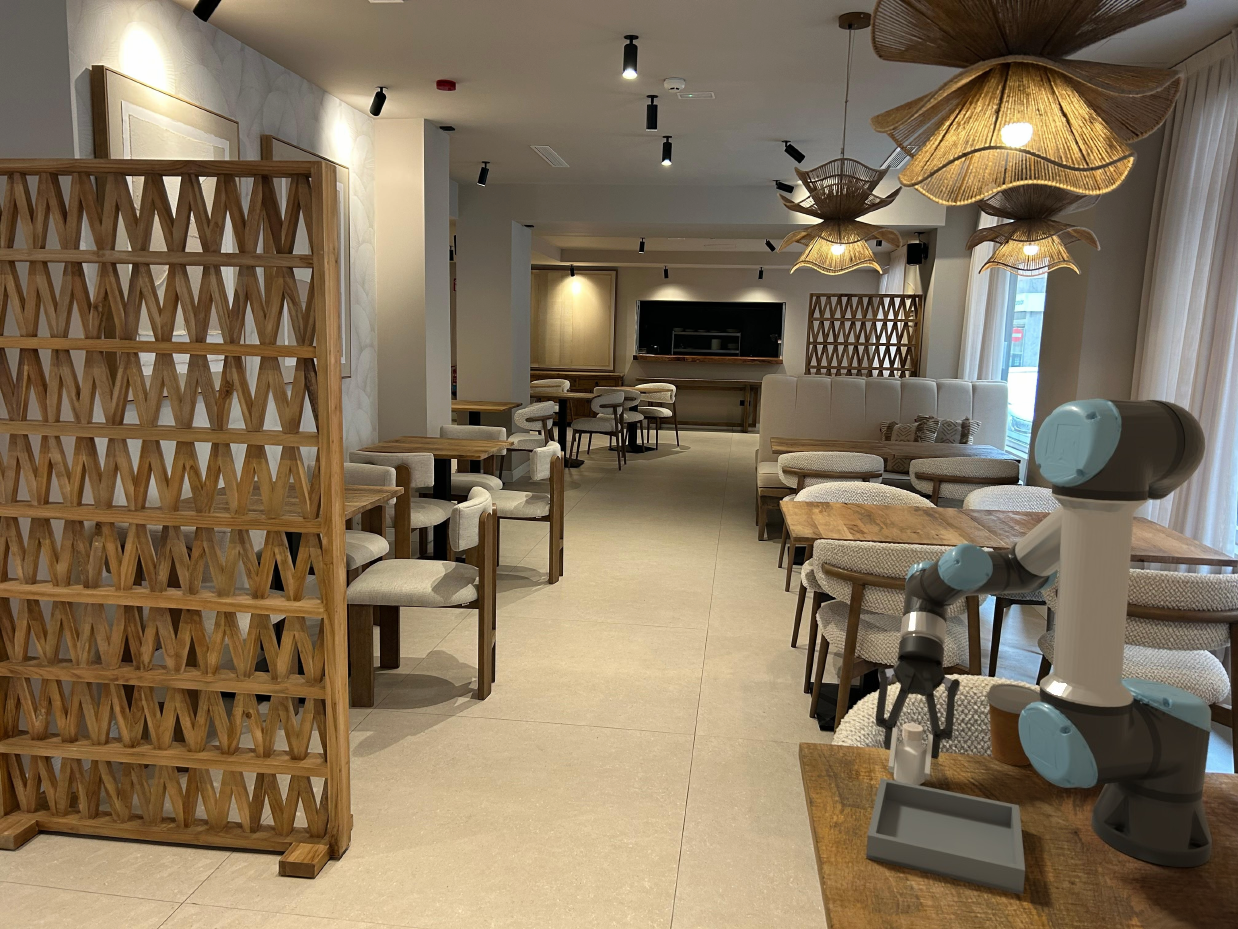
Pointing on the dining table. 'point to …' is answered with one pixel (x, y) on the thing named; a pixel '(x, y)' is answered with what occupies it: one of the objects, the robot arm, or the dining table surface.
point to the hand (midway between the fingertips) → (908, 772)
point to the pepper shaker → (910, 756)
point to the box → (948, 835)
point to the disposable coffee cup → (1008, 721)
